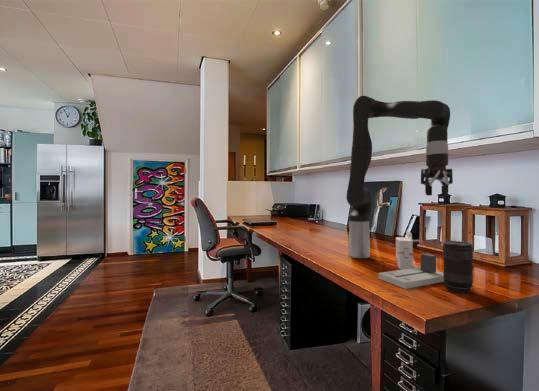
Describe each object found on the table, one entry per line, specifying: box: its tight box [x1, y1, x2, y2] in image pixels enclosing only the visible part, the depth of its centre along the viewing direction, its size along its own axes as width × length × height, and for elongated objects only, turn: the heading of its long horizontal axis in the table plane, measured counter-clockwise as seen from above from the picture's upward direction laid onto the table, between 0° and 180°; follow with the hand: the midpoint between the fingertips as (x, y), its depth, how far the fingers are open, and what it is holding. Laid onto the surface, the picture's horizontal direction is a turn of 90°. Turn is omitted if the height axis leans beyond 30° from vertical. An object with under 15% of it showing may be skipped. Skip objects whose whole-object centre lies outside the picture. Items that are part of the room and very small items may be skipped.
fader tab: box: [420, 252, 437, 273], centre depth 106 cm, size 4×3×6 cm
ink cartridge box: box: [395, 230, 414, 270], centre depth 120 cm, size 9×5×15 cm, turn 168°
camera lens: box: [442, 240, 474, 294], centre depth 93 cm, size 8×8×15 cm
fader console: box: [378, 266, 444, 289], centre depth 104 cm, size 12×21×2 cm, turn 112°
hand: (436, 195), depth 114 cm, fingers open, 8 cm apart
